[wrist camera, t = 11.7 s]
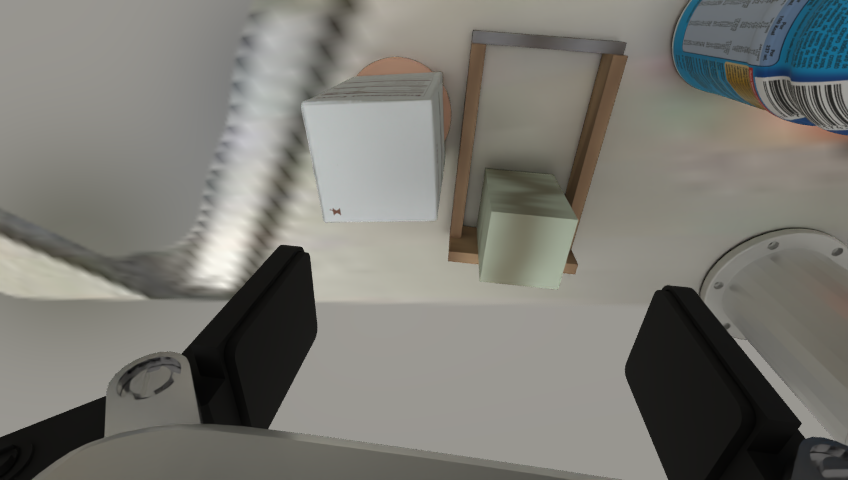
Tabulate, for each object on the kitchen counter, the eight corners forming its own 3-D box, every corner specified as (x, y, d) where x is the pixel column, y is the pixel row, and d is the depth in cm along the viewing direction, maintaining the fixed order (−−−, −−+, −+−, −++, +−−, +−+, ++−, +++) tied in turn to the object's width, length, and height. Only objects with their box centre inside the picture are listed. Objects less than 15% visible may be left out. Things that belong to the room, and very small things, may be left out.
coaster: (456, 61, 31) (456, 62, 31) (445, 169, 36) (445, 172, 35) (344, 52, 32) (342, 53, 31) (347, 160, 36) (346, 162, 36)
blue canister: (678, -30, 27) (1045, -106, 10) (815, -49, 26) (1493, -171, 9) (657, 97, 31) (893, 199, 14) (775, 86, 30) (1188, 181, 13)
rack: (619, 41, 30) (674, 51, 22) (562, 245, 39) (587, 303, 31) (472, 29, 30) (476, 35, 22) (449, 233, 39) (446, 288, 31)
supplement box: (446, 160, 35) (438, 226, 24) (363, 161, 36) (319, 226, 25) (445, 69, 31) (435, 98, 20) (353, 72, 32) (295, 102, 21)
